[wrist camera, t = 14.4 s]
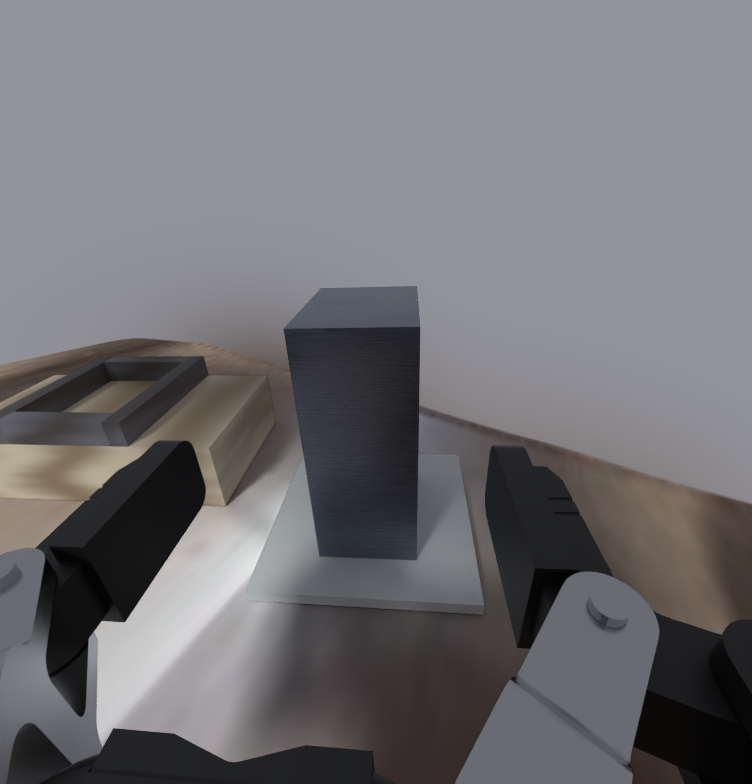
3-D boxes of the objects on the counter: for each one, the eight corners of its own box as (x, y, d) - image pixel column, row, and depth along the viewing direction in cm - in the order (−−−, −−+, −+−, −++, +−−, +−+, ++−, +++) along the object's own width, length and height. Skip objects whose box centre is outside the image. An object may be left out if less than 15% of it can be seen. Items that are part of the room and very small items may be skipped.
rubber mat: (247, 600, 17) (244, 591, 16) (305, 458, 25) (304, 451, 25) (482, 614, 16) (484, 605, 15) (457, 462, 24) (458, 454, 24)
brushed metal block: (319, 556, 18) (283, 328, 13) (340, 472, 23) (320, 288, 18) (416, 560, 17) (420, 326, 12) (414, 474, 23) (416, 286, 18)
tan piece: (-40, 496, 23) (-95, 419, 21) (75, 419, 31) (45, 357, 29) (225, 505, 22) (201, 424, 19) (276, 421, 30) (263, 356, 27)
